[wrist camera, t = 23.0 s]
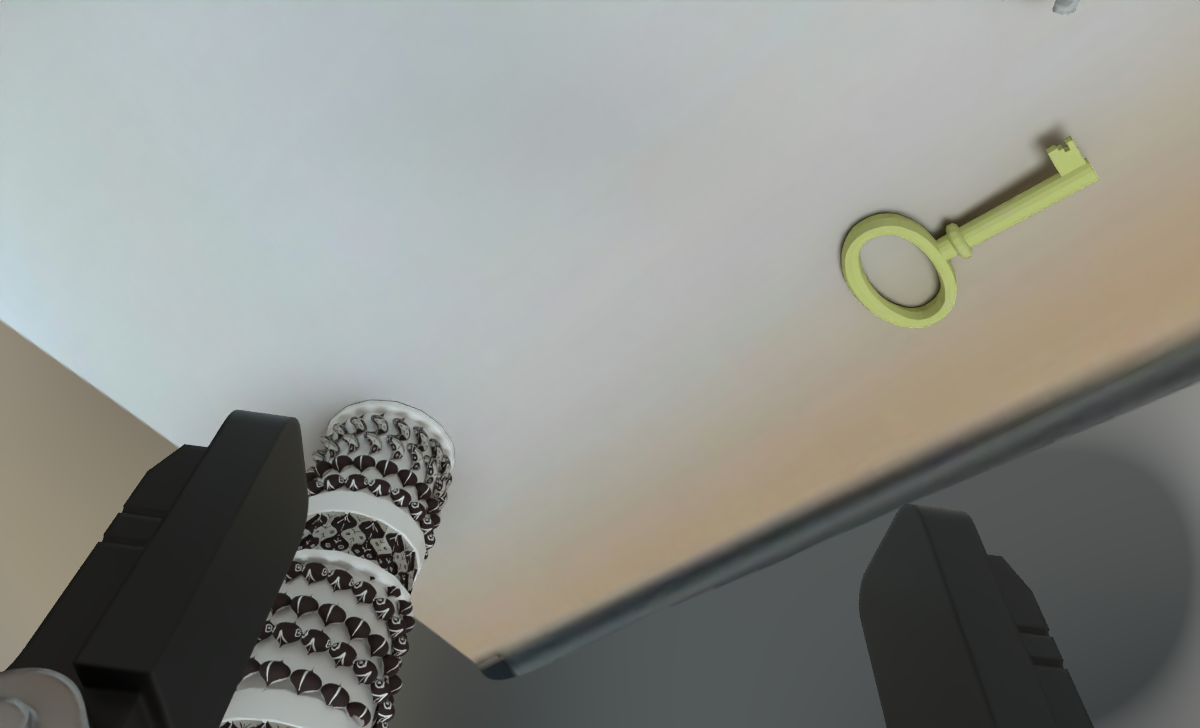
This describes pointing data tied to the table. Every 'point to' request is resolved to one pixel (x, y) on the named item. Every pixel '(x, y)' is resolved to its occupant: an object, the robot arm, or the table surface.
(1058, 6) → the soldier figure
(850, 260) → the key
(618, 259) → the table surface
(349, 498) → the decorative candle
